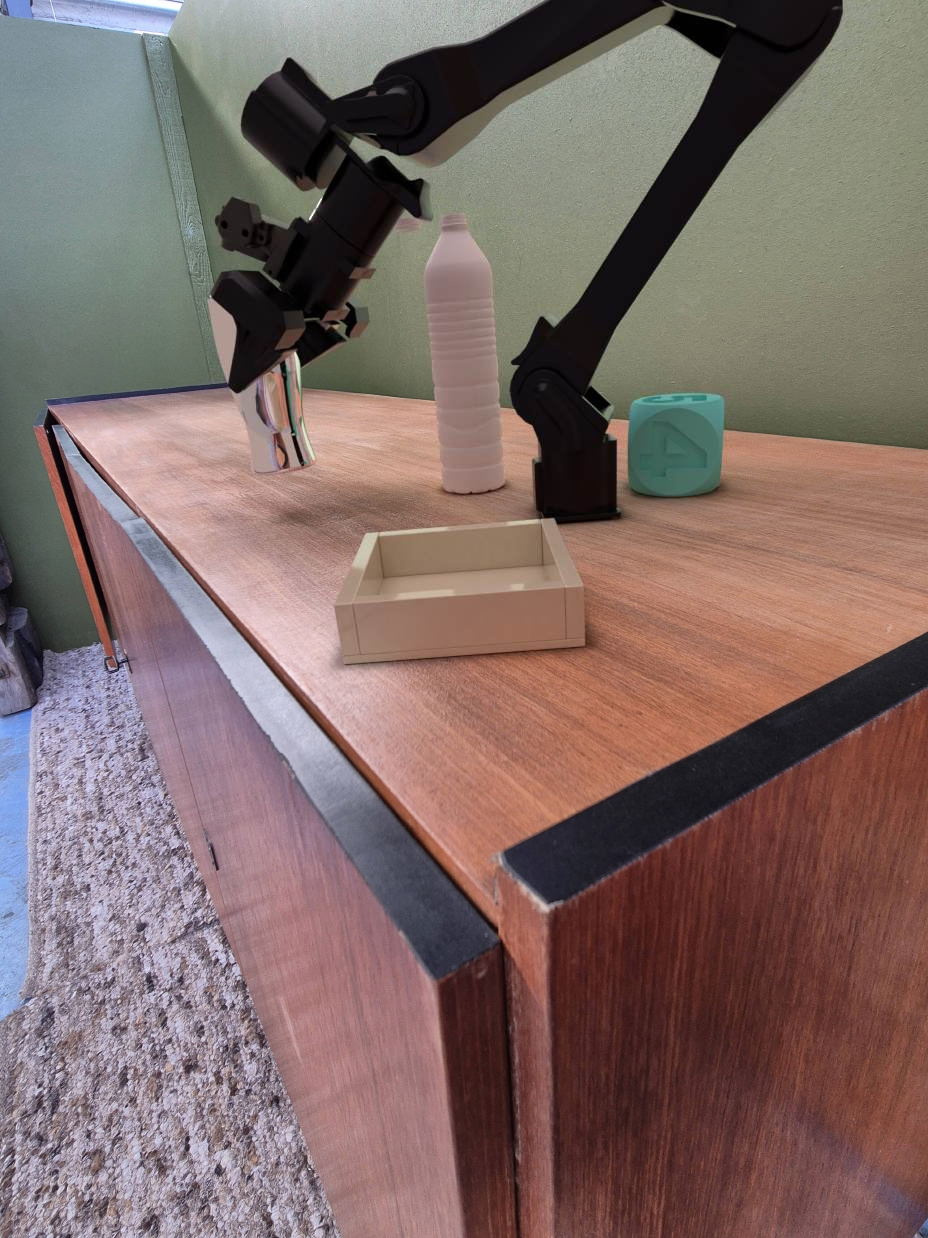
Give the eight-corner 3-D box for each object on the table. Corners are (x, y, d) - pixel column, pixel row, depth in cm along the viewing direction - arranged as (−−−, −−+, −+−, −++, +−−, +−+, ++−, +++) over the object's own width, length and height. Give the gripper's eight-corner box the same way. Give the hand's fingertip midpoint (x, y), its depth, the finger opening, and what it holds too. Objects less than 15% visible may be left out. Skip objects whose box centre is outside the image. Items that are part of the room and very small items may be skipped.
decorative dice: (719, 497, 63) (725, 402, 60) (626, 497, 65) (627, 407, 62) (718, 476, 70) (723, 391, 66) (634, 477, 72) (635, 395, 69)
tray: (556, 566, 50) (554, 517, 48) (585, 646, 38) (584, 585, 37) (371, 580, 50) (365, 532, 49) (343, 664, 38) (333, 604, 37)
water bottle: (507, 477, 77) (491, 213, 67) (503, 492, 71) (485, 204, 61) (427, 482, 78) (400, 223, 68) (417, 497, 72) (386, 215, 62)
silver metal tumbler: (305, 473, 63) (265, 289, 57) (234, 479, 65) (188, 300, 59) (332, 455, 70) (298, 288, 64) (267, 461, 71) (228, 298, 65)
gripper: (317, 177, 65) (237, 320, 72) (202, 138, 48) (113, 328, 56) (410, 263, 66) (322, 395, 73) (328, 253, 49) (225, 425, 57)
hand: (253, 385), depth 65 cm, fingers closed on silver metal tumbler, 7 cm apart
